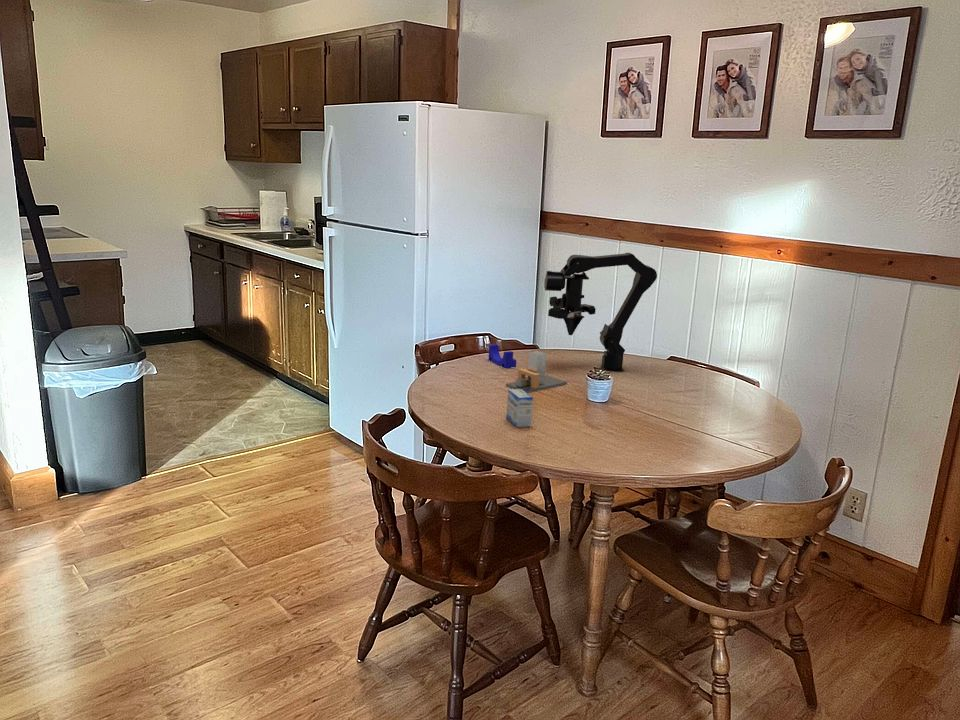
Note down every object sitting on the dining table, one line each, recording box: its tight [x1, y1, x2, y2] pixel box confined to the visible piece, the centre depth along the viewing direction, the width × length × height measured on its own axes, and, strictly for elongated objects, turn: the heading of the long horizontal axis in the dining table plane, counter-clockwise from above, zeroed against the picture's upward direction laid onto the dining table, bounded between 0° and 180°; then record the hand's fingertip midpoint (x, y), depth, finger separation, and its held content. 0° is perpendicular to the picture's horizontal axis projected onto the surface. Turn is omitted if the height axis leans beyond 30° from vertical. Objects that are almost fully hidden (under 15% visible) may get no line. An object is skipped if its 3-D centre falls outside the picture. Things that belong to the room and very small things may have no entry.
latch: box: [515, 350, 548, 387], centre depth 241 cm, size 10×4×10 cm, turn 130°
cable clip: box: [487, 343, 517, 369], centre depth 268 cm, size 12×4×6 cm, turn 29°
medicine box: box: [505, 388, 534, 428], centre depth 208 cm, size 8×4×9 cm, turn 21°
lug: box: [517, 368, 540, 388], centre depth 242 cm, size 2×8×4 cm, turn 40°
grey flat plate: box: [505, 374, 568, 394], centre depth 245 cm, size 19×9×1 cm, turn 130°
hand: (570, 335), depth 265 cm, fingers closed
